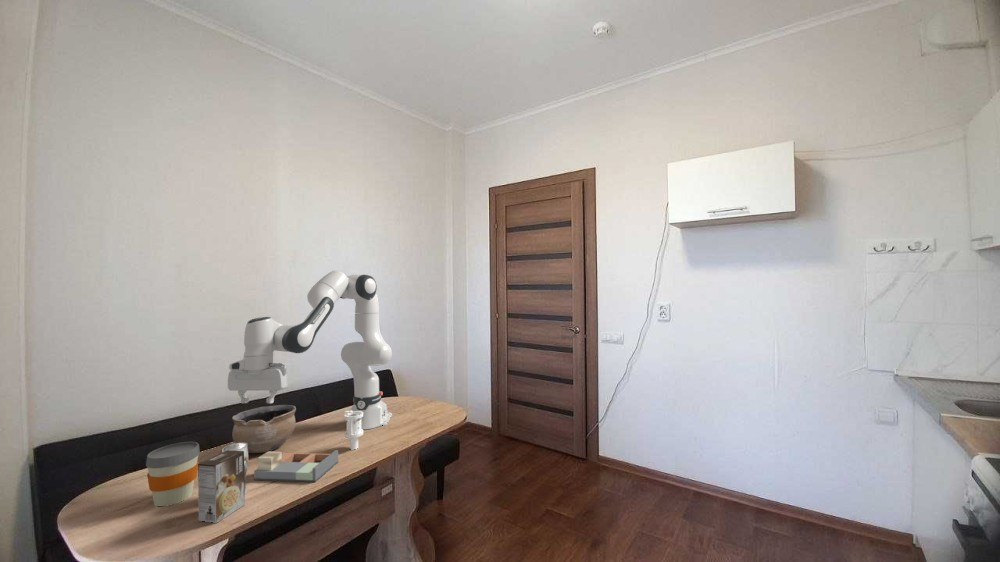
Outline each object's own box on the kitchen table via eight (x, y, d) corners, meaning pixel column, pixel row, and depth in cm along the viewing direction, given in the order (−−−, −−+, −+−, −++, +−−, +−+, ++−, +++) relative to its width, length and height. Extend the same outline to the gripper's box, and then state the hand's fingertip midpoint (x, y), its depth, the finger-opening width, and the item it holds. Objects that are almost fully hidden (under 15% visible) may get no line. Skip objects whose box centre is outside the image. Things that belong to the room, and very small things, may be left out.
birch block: (268, 462, 130) (268, 451, 130) (281, 463, 130) (281, 451, 130) (257, 469, 125) (257, 457, 125) (271, 470, 125) (271, 458, 125)
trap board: (282, 460, 138) (282, 448, 138) (338, 462, 136) (338, 450, 136) (254, 480, 124) (254, 466, 124) (315, 482, 122) (315, 468, 122)
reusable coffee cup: (172, 487, 120) (172, 441, 121) (210, 487, 120) (210, 441, 120) (133, 510, 108) (133, 458, 108) (174, 510, 107) (175, 458, 108)
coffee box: (227, 502, 111) (227, 449, 111) (245, 504, 110) (245, 450, 110) (197, 521, 102) (197, 463, 102) (216, 524, 101) (216, 465, 101)
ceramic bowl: (224, 465, 135) (224, 424, 135) (238, 443, 155) (238, 407, 155) (293, 453, 144) (293, 415, 145) (298, 434, 164) (298, 400, 164)
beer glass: (224, 492, 117) (224, 444, 117) (250, 487, 120) (250, 440, 120) (218, 503, 111) (218, 453, 111) (245, 498, 113) (245, 448, 114)
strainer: (349, 444, 151) (349, 408, 152) (366, 444, 151) (366, 408, 152) (341, 452, 144) (341, 413, 145) (359, 452, 144) (358, 413, 145)
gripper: (292, 361, 132) (291, 400, 131) (239, 362, 134) (238, 400, 133) (280, 364, 126) (279, 405, 125) (224, 364, 128) (223, 405, 127)
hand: (257, 403), depth 129 cm, fingers open, 8 cm apart
